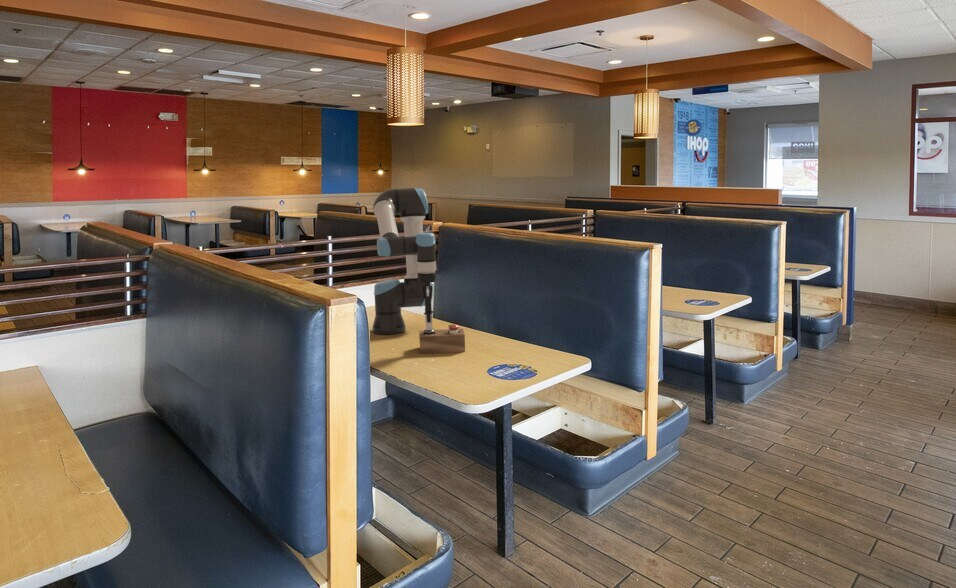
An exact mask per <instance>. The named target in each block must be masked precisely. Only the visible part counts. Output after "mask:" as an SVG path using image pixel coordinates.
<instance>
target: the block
mask: <svg viewBox="0 0 956 588" xmlns="http://www.w3.org/2000/svg"><path fill="white" fill-rule="evenodd" d="M418 332H419V333H418V334H419V354H420V355H423V354H424V355H425V354H440V353H441V354H442V353H443V354H444V353H461V352H466V340H465V339H466V338H465V337H466V336H465V335H466V334H465V332H464V328H458V333H454V334H450V332H449V328H448V329H434V334H432V335H425V333H424V330H418Z"/></svg>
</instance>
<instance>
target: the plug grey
mask: <svg viewBox="0 0 956 588" xmlns="http://www.w3.org/2000/svg"><path fill="white" fill-rule="evenodd" d="M434 330H435V329H433V330H426V328H425V329H424V330H423V331H424V333H425V335H432V334H434Z"/></svg>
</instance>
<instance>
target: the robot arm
mask: <svg viewBox="0 0 956 588" xmlns="http://www.w3.org/2000/svg"><path fill="white" fill-rule="evenodd" d="M428 203H429V201H428V198H427V194H426V192H425V190H424V189H423V188H417V187H416V188H415V187H413V188H390V189H386V190H384V191H382V192H381V193H380V194H379V195H377V197H375V200H374V203H373V205H372V206H373V207H372V208H373V210H372V211H373V214H374V216H375V217H376V218H377V219H376V220H377V225H378V230H379V236H380V237H379V238H377V239H376V249H377V255H378V256H379V257H388V258H389V257H395V256H397V257H398V256H405V262H406V263H405V264H406V275H405V276H404V277H403V281H400V279H397V278H392V279H391V278H390V279H386V280H382V281H379V282H376V283H375V284H374V287H373V288H374V291H373V295H374V309H375V310H374V312H375V314H374V318H373V319H374V320H373V324H372V327H371V328H372V333H374V334H376V335H396V334H400V333H405V331H406V323H405V321H404V318H403V315H402V308H415V307H417V308H419V307H424V312H423V315H425V317H424V318H425V320H424V321H425V329H426V330H433V314H434V311H433V310H432V301H433V295H434V283H435V282H437V280H438V279H437V272H436V271H437V260H436V259H437V258H436V237H435V234H434V233H433V232H424V230H423V229H424V226H423V221H424V220H425V219H426V215H427V214H429V204H428ZM396 215H398V216H399V219H400V220H401V221H402V222H403V232H404V233H403V234H404V236H399V231H398V227H397V222H396V217H395V216H396Z"/></svg>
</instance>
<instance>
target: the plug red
mask: <svg viewBox="0 0 956 588" xmlns="http://www.w3.org/2000/svg"><path fill="white" fill-rule="evenodd" d="M448 329H449V332H450V334H454V333H458V329H460V325H459V324H456V323H454V324H449V325H448Z"/></svg>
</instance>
